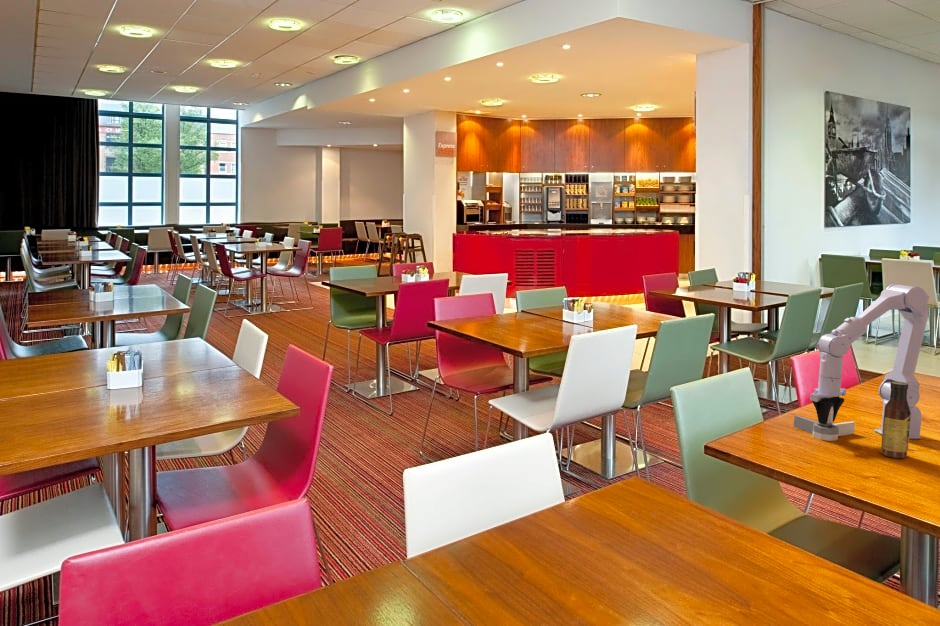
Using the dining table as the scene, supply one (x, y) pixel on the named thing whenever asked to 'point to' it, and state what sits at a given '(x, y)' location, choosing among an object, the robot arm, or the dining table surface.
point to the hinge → (824, 428)
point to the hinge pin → (829, 419)
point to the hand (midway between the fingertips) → (826, 422)
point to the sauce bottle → (896, 422)
